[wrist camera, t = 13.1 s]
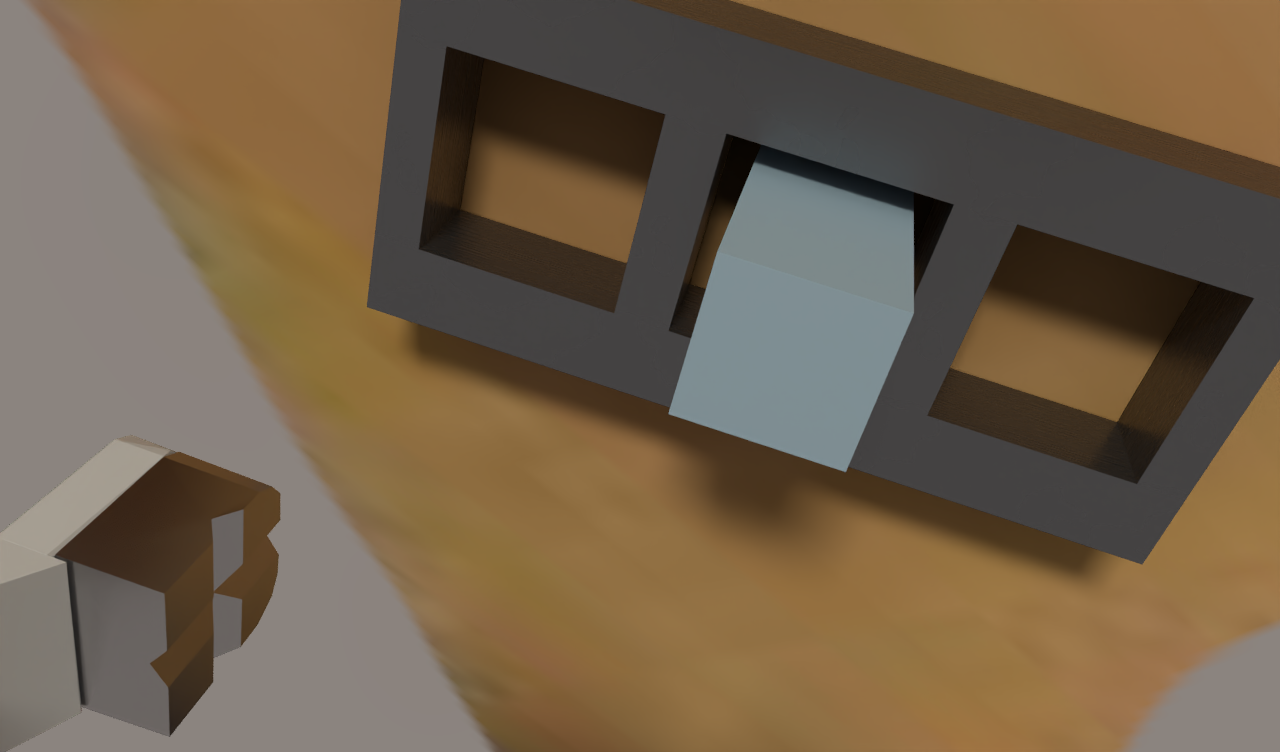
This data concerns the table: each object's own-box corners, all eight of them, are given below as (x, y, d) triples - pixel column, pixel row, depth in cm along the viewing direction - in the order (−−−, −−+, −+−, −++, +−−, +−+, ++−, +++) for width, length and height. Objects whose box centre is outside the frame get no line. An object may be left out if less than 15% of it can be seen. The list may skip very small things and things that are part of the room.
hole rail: (1322, 180, 25) (1368, 226, 22) (1123, 498, 30) (1142, 564, 28) (457, -82, 26) (408, -67, 24) (410, 264, 32) (366, 306, 29)
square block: (913, 179, 27) (913, 313, 20) (861, 311, 29) (845, 472, 23) (765, 134, 27) (717, 251, 21) (724, 267, 30) (668, 413, 23)
